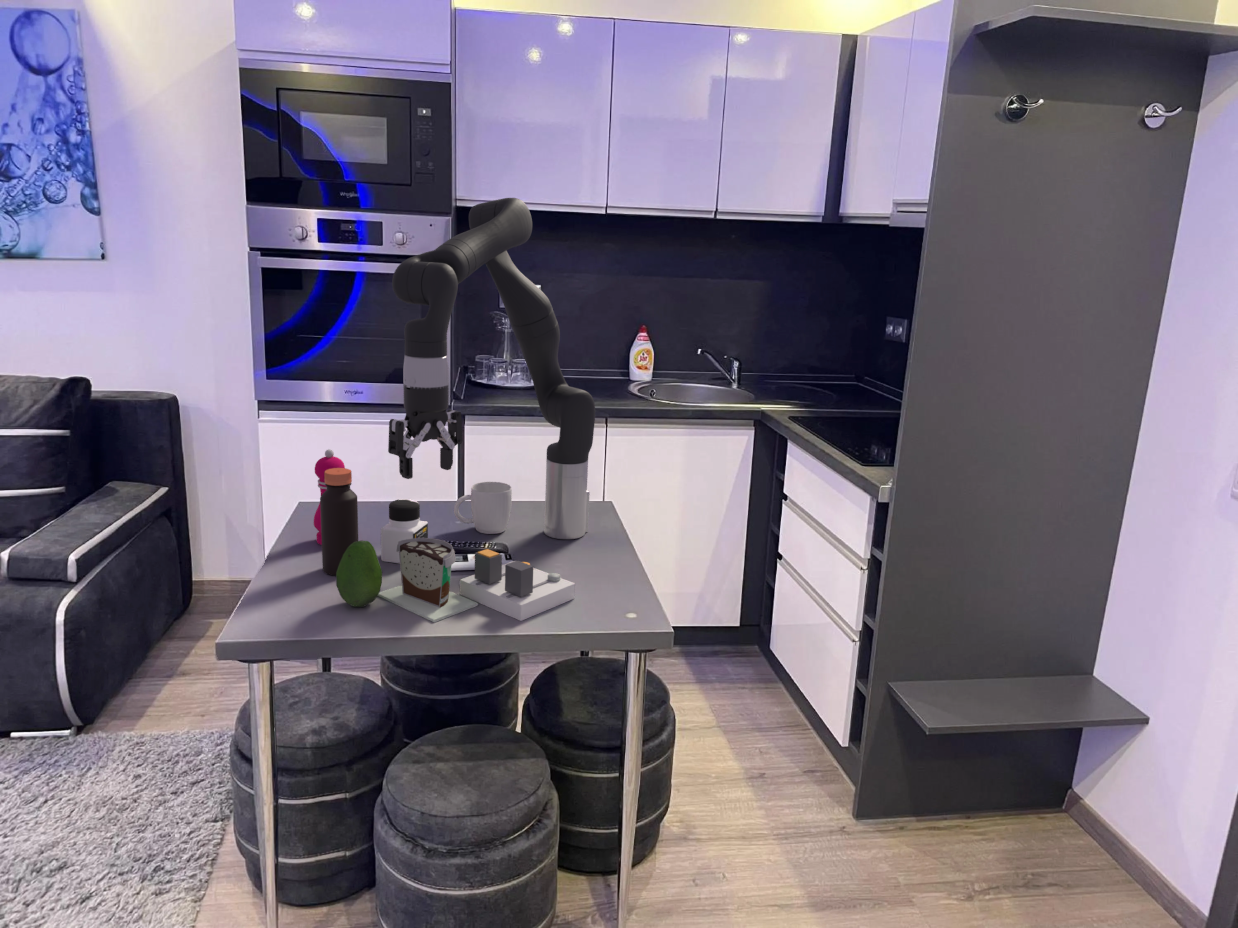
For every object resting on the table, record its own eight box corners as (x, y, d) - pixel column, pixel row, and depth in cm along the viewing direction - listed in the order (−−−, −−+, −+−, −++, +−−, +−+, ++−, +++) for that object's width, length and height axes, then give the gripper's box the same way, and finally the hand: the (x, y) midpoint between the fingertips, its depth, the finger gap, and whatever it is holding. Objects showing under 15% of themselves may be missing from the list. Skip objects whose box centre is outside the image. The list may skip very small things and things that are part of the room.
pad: (421, 580, 171) (421, 578, 171) (477, 605, 162) (477, 603, 162) (377, 595, 164) (377, 593, 164) (434, 622, 154) (434, 619, 154)
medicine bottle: (414, 565, 179) (413, 508, 176) (380, 561, 180) (379, 504, 177) (428, 553, 185) (428, 498, 182) (396, 549, 187) (395, 494, 184)
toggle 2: (516, 586, 163) (517, 560, 162) (532, 592, 160) (533, 566, 159) (504, 590, 161) (505, 564, 159) (520, 597, 158) (521, 570, 157)
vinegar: (344, 560, 179) (341, 464, 174) (366, 569, 176) (364, 471, 170) (315, 570, 174) (311, 471, 169) (337, 579, 170) (334, 478, 165)
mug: (508, 522, 207) (509, 481, 204) (513, 535, 199) (514, 492, 196) (452, 524, 204) (452, 482, 202) (455, 537, 196) (455, 493, 193)
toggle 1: (486, 574, 168) (487, 548, 166) (501, 580, 165) (502, 553, 164) (474, 578, 165) (474, 551, 164) (489, 584, 163) (489, 557, 162)
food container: (470, 599, 163) (470, 547, 161) (446, 610, 158) (446, 556, 156) (421, 582, 170) (421, 532, 167) (396, 592, 165) (396, 540, 162)
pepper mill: (318, 534, 193) (315, 444, 188) (353, 535, 194) (350, 445, 188) (310, 546, 186) (306, 453, 181) (346, 547, 187) (343, 454, 182)
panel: (514, 574, 177) (514, 556, 176) (574, 598, 167) (575, 579, 166) (459, 594, 166) (460, 575, 165) (520, 620, 156) (521, 600, 155)
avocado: (390, 598, 163) (389, 536, 160) (369, 616, 155) (367, 551, 152) (350, 593, 164) (348, 531, 161) (327, 609, 157) (325, 545, 154)
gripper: (444, 374, 160) (444, 462, 164) (377, 382, 149) (379, 476, 153) (472, 380, 156) (471, 470, 160) (406, 389, 145) (407, 485, 149)
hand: (426, 473), depth 157 cm, fingers open, 8 cm apart
